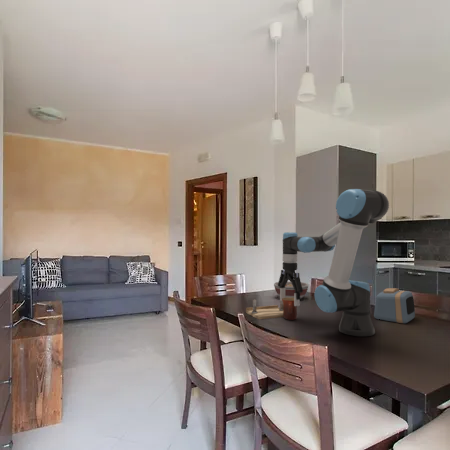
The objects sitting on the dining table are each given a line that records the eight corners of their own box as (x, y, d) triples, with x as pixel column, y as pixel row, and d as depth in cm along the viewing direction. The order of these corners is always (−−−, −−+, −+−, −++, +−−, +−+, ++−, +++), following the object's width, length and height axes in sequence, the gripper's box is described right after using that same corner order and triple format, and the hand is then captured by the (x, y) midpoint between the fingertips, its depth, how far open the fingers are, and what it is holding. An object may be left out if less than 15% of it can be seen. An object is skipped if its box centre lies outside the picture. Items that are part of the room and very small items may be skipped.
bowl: (274, 295, 247) (274, 281, 248) (306, 295, 244) (306, 281, 244) (274, 301, 225) (274, 286, 225) (310, 302, 222) (310, 286, 222)
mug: (282, 316, 185) (282, 297, 185) (298, 317, 184) (298, 297, 184) (281, 322, 174) (281, 301, 174) (298, 323, 172) (298, 302, 172)
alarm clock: (407, 325, 168) (406, 292, 168) (372, 319, 179) (372, 288, 179) (416, 318, 180) (415, 288, 180) (383, 313, 191) (383, 285, 191)
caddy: (292, 315, 186) (292, 300, 186) (258, 319, 179) (258, 302, 179) (277, 309, 201) (277, 295, 201) (245, 312, 193) (245, 297, 194)
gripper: (310, 264, 169) (310, 307, 169) (283, 259, 192) (283, 297, 192) (297, 264, 166) (296, 309, 166) (271, 259, 189) (271, 298, 189)
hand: (289, 303), depth 179 cm, fingers open, 13 cm apart
